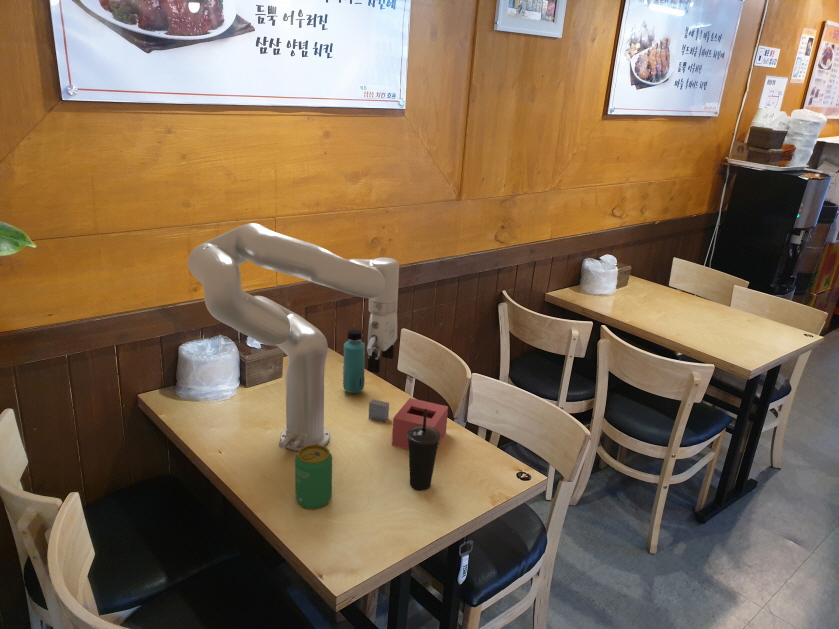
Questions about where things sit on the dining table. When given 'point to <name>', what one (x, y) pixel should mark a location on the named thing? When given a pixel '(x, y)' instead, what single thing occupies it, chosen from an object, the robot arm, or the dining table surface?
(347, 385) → the beverage bottle
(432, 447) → the drinking cup
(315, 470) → the beverage can
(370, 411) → the grey flat block
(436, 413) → the red slotted block
